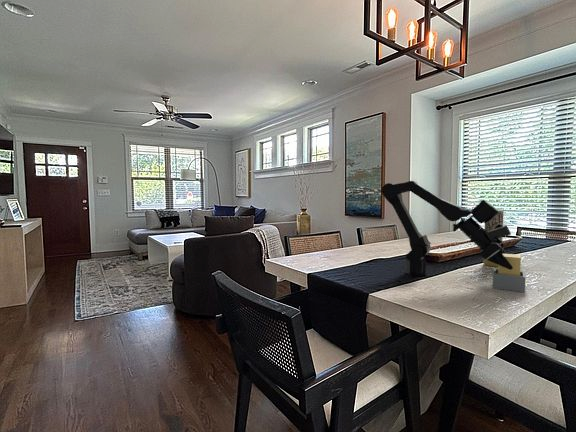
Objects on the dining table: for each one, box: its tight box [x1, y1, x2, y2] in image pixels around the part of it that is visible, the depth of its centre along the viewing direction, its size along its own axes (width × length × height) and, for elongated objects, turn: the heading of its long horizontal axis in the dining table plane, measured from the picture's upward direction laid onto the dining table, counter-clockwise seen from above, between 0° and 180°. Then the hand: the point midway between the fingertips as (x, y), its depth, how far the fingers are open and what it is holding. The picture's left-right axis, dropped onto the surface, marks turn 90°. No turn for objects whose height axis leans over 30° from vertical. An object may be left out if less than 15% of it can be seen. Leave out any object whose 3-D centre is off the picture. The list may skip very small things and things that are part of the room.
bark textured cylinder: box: [482, 208, 504, 268], centre depth 138 cm, size 7×7×25 cm
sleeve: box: [492, 267, 527, 293], centre depth 107 cm, size 9×9×5 cm
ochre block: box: [497, 253, 522, 276], centre depth 107 cm, size 6×6×11 cm
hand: (511, 266), depth 106 cm, fingers open, 9 cm apart
